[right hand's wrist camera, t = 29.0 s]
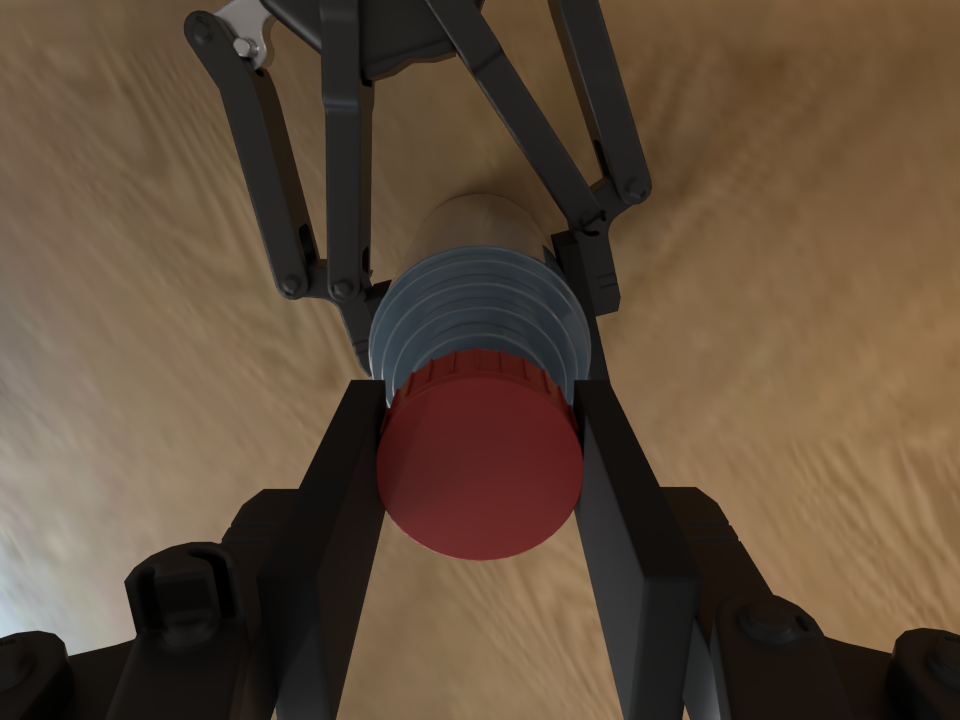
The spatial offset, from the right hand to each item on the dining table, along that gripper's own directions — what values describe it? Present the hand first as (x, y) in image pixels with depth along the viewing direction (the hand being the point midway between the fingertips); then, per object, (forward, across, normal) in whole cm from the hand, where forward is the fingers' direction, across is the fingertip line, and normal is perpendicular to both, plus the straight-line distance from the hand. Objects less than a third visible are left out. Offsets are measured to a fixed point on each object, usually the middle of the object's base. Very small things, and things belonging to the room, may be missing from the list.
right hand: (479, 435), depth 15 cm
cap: (-1, 0, 0) cm, 1 cm away
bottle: (+18, 0, 0) cm, 18 cm away
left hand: (+11, -1, +5) cm, 13 cm away
